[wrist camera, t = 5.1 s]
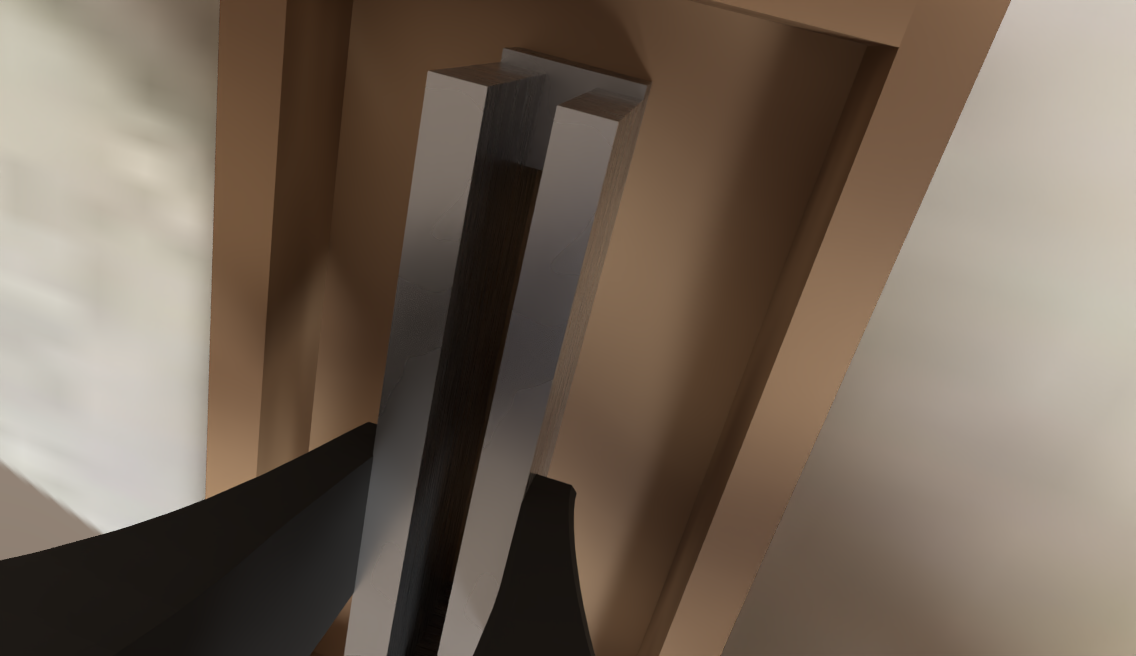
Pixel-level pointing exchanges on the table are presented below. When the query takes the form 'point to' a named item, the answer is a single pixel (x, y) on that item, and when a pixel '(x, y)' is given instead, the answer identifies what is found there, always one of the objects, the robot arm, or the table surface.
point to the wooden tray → (631, 268)
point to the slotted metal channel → (484, 332)
